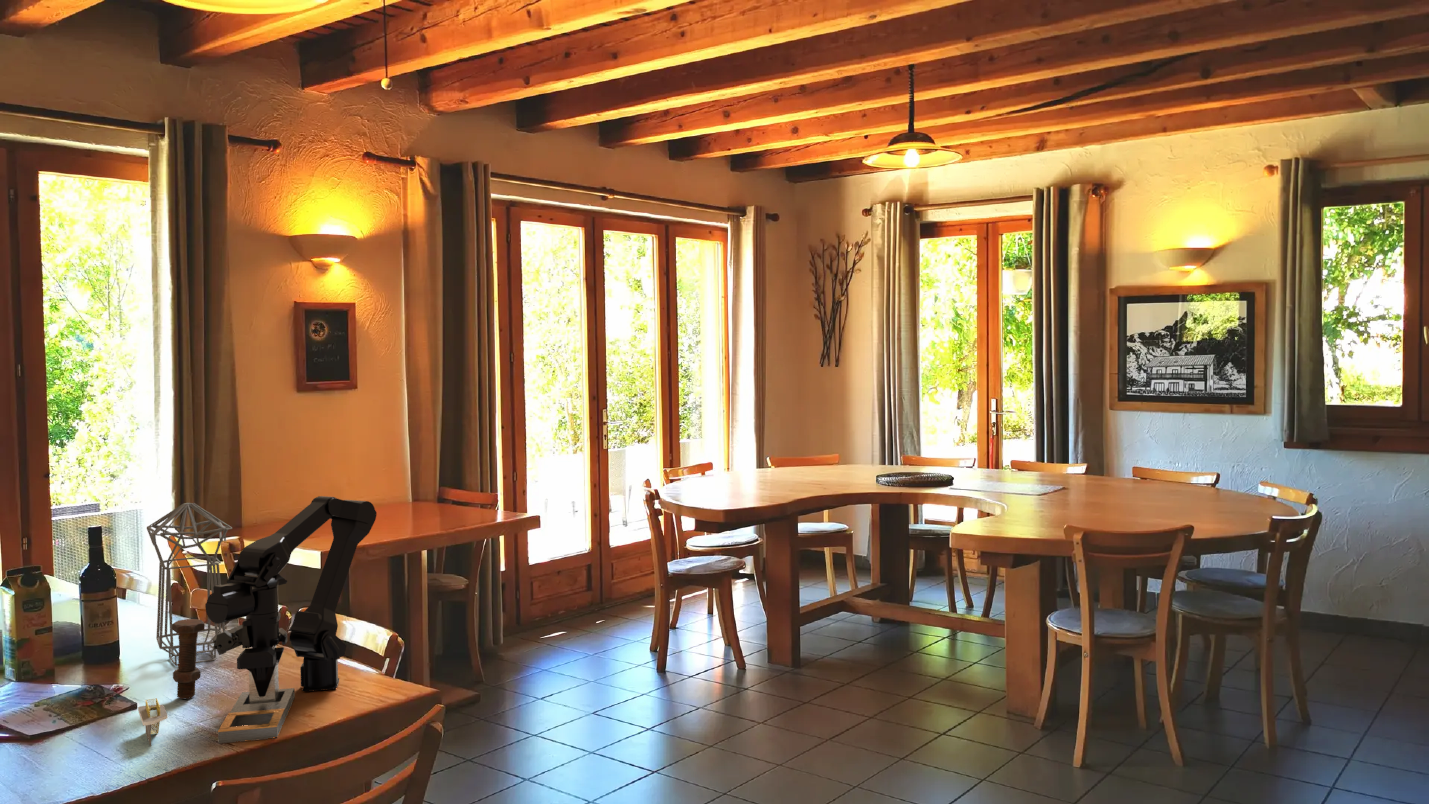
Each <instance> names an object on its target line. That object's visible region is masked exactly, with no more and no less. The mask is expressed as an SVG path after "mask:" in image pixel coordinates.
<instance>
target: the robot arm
mask: <svg viewBox="0 0 1429 804" xmlns="http://www.w3.org/2000/svg"><path fill="white" fill-rule="evenodd" d="M377 515H378V514H377V510H376V508H375V506H374V504H373V503H372V502H371V501H368V500H367V501H366V500H355V499H340V498H337V497H335V496H325V495H324V496H323V495H321V496H320V495H318V496H316V497H314V498H313V499H312V500H311V502H310V503H309V504H308V505H307V506H306V507H304V509H302V510H301V511H299V513H297V514H296V515H295V516H293V517H292V518H291V519H290V520H289V521H287V523H285V524H284V525H282V527H280V528H279V529H278V530H277V531H275V532H274V533H273V534H270V535H268V536H265V537H262V538H259V539H256V540H255V541H253V542H252V543H249V544H248V545H246V546H245V547H244V548H243V549H241V550H240V552H239V557H238V559H237V560H236V563H235V564H234V567H233V569H232V570H231V573H230V574H229V576H228V577H227V580H226V583H225V584H221V585H218V584H217V585H216V586H215V585H214V587H213V593H212V592H211V593H210V596H209V597H208V598H207V599H206V603H205V605H204V606H205V608H204V609H205V612H206V615H207V618H208V617H209V619H210V622H212V623H213V624H214V623H216V624H217V625H218V624H219V623H221V624H222V623H223V622H225V623H227V622H230V621H234V620H238V619H240V618H241V619H242V618H244V617H245V619H244V620H242V622H241V623H242V624H240V625H237V626H235V627H232V628H230V629H225V631H224V632H223V631H222V633H218V634H217V635H216V636H215V635H214V636H215V637H214V636H213V637H214V639H213V640H212V641H213V643H214V644H213V645H212V646H213V648H214V649H216V653H218V654H217V655H219V656H221V655H224V654H226V653H227V652H228V651H232V650H234V649H236V648H238V647H242V649H243V650H242V651H241V652H240V654H239V655H238V656H237V658H236V670H246V671H248V672H249V671H250V672H251V673H252V676H253V679H254V682H255V685H256V689H257V692H258V695H259V697H264V696H265V695H266V693H267V690H268V687H269V684H270V681H271V678H272V676H273V673H274V670H275V667H276V664H277V663H278V665H279V664H280V661H281V658H282V656H283V653H284V651H285V647H277V646H278V645H279V643H281V644H282V645H287V642H288V632H287V631H286V630H285V629H284V628H283V627H280V623H279V622H280V619H281V612H279V586H282V585H285V584H287V583H288V580H287V579H286V578H285V577H283V576H282V575H281V574H280V573H281V571H282V570H283V569H284V568H285V567H286V565H287V564H288V563H289V562H290V559H291V555H292V553H293V552H294V550H295V549H297V548H298V547H299V546H300V545H301V544H302V543H303V542H304V541H305V540H307V539H308V538H309V537H310V536H312V535H313V534H314V533H315V532H316V531H317V530H318V529H319V528H321V527H322V526H323V525H324V524H325V523H327V522H328V521H329V520H331V522H330V525H331V532H332V536H333V539H332V542H331V545H330V548H329V550H328V554H327V555H326V559H325V562H324V565H323V568H322V571H321V573H320V576H319V579H318V582H317V585H316V588H315V590H314V594H313V596H312V599H311V602H310V605H309V606H308V607H307V608H306V609H305V610H304V611H303V610H302V611H301V610H297V611H296V613H294V617H293V621H292V625H291V626H290V627H289V629H288V631H290V634H289V642H290V644H291V646H292V648H293V651H294V653H295V656H296V658H303V660H302V661H303V662H302V663H301V666H300V687H301V690H302V691H308V692H316V691H315V690H320V691H330V690H329V689H333V690H336V688H337V689H338V686H339V684H340V683H339V682H340V677H339V664H338V663H339V662H338V660H339V659H340V658H341V657H344V656H345V653H346V650H347V644H346V643H345V642H344V641H342V640H341V639H340V638H339V637H338V636H337V633H338V627H339V624H338V619H337V614H336V609H337V606H338V603H339V600H340V597H341V594H342V591H343V588H344V585H345V583H346V580H347V577H348V573H349V570H350V568H351V564H352V562H353V559H354V556H355V553H356V549H357V547H358V545H359V544H360V543H361V542H362V541H363V540H364V539H365V538H366V537H367V536H368V535H369V534H370V532H371V531H372V528H373V526H374V524H375V522H376V520H377ZM213 648H212V649H213ZM313 690H314V691H313Z"/></svg>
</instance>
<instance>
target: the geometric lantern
mask: <svg viewBox="0 0 1429 804" xmlns="http://www.w3.org/2000/svg"><path fill="white" fill-rule="evenodd" d="M192 510H194V511H195V512H196V513H198V514H199V515H201V516H202V517H204V518H205V519H206V520H205V521H200V522H196V520H195V517H194V514H193V511H192ZM187 513H188V515H189V520H190V522H191V525H190V526H185V524H186V519H187ZM181 514H182V516H181ZM180 516H181V519H180V520H181V521H180V523H179V525H173V523H174V522H176V520H177V519H178V518H179V517H180ZM169 523H170V524H169ZM167 524H169V525H167ZM205 524H206V525H205ZM212 524H214V525H215V526H216V527H218V528H215V529H210V530H206V529H207V528H208V527H209V526H210V525H212ZM223 524H224V525H223ZM201 525H204V526H203V527H202V528H201V529H200V530H198V531H197V528H198V526H201ZM168 529H180V531H179V532H171V531H168ZM189 529H191V530H192V529H193V530H192V531H184V530H189ZM232 529H233V527H232V526H230V525H229V524H227V523H226V522H224V521H223V520H221V519H219V518H218V517H216V516H215V515H213V514H212V513H211V512H209V511H207V510H205V509H204V508H202V506H199V505H198V504H197V503H195V502H193V503H192V502H186V503H182V504H181V505H179V506H177V507H176V508H174V509H173V510H171V511H170V512H168V513H166V514H165V515H163V516H161V517H160V518H159V519H157V520H155V521H154V522H152V523H151V524H150V525H148V526H146V530H147V533H148V536H149V538H150V541H151V543H152V545H153V547H154V549H155V552H156V555H157V558H158V560H159V568H158V569H159V571H158V589H157V590H158V593H157V595H158V596H157V597H158V598H157V614H156V615H157V616H156V617H157V618H156V619H157V620H156V622H157V623H156V642H157V644H158V645H157V646H158V648H159V649H160V650H163V651H165V652H166V653H167V654H168V658H169V660H170V661H171V662H172V664H173V665H174V666H176V667H178V664H179V663H178V658H177V657H179V656H178V654H179V651H178V650H177V649H179V644H177V645H174V636H175V637H176V636H179V633H176V632H174V631H173V630H172V624H173V606H172V604H173V603H172V576H171V570H175V569H186V568H196V567H197V568H198V567H206V585H207V586H206V589H207V592H206V593H207V599H208V597H209V596H210V594H212V593H213V587H214V586H216V585H222V583H221V572H220V564H221V562H222V561H220V560H219V558H218V553H219V550H220V547H221V546H222V542H223V541H224V542H226V540H227V533H228V531H229V530H232ZM211 533H212V534H211ZM206 534H210V535H209V536H207V537H206V538H204V539H202V540H200V539H199V536H201V535H206ZM184 535H193V536H184ZM216 535H218V539H219V541H218V542H217V545H216V546H217V547H216V550H215V551H214V554H213V555H211V556H210V555H208V553H207V551H205V549H204V547H203V546H202V544H203V543H205V542H207V541H208V540H210V539H212V538H213V537H215V536H216ZM157 536H160V537H162V539H163V538H164V539H165V540H167V541H168V542H170V543H172V544H173V545H174V547H173V548H172V550H171V553H170V554H169V557H168V559H166V560H165V559H163V557H162V554H161V551H160V549H159V546H158V544H157V539H156V538H157ZM168 536H172V537H174V538H177V541H176V540H173V539H172V538H171V537H168ZM195 539H196V540H195ZM185 540H192V541H193V542H194V544H188V545H186V542H185ZM199 540H200V541H199ZM180 541H181V542H182V544H180ZM177 547H179V549H178V550H177V552H176V553H175V551H176V549H177ZM193 547H198V549H199V550H200V552H202V553H203V556H193V557H185V558H176V557H177V556H178V555H179V553H180V552H181V550H182V549H190V548H193ZM174 553H175V554H174ZM173 555H174V556H173ZM172 557H173V558H172ZM195 559H206V564H193V565H183V566H182V565H181V566H173V567H172V566H171V567H170V565H171V564H172V563H173V562H175V561H187V560H195ZM165 563H166V564H165ZM165 576H166V577H165ZM164 601H165V602H164ZM164 603H165V605H164ZM164 607H165V608H164ZM164 609H165V610H164ZM164 612H165V613H164ZM168 616H169V617H168ZM168 618H169V619H168ZM168 620H169V625H168ZM225 623H226V622H223V623H219V624H216V623H214V622H213V624H214V628H213V627H211V620H210V619H209V617H208V616H207V628H205V629H204V630H202V631H198V633H202V632H203V633H204V632H207V633H206V636H205V639H204V642H203V641H202V642H197V646H202V650H197V651H196V652H197V653H196V655H198V654H206V653H209V654H210V655H211V659H204V660H196V664H201V663H206V662H207V663H208V662H215V660H217V649H214V648H213V646H214V643H213V639H214V637H215V636H216V635H217V634H218V633H222V632H224V631H225V630H226V624H225ZM163 624H164V625H163ZM163 626H164V627H163ZM168 626H169V633H168ZM163 628H164V634H163ZM212 631H213V632H214V636H213V637H212V638H211V639H210V640H209V641H208V639H209V636H210V635H209V634H210V632H212ZM164 638H165V640H167V643H168V644H166V643H165V641H163V639H164ZM169 638H170V640H169ZM205 645H207V650H205V649H206V648H205ZM210 648H211V649H210ZM173 658H174V659H173Z"/></svg>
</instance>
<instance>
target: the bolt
mask: <svg viewBox="0 0 1429 804" xmlns="http://www.w3.org/2000/svg"><path fill="white" fill-rule="evenodd" d="M205 626H206V624H205V622H204V621H203V620H202V619H199V618H198V619H196V618H188V619H179V620H176V621H174V622H172V630H173V632H174V633H179V635H178V637H177V638H178V645H179V648H178V653H179V654H178V656H179V657H178V658H177V664H178V666H177V669H175V670H174V671H172V679H173V681H174V682H176V683H177V689H176V691H177V692H176V693H177V694H176V697H177V698H178V699H182V700H188V699H192V698H194V696H195V695H196V681H198V680H199V679H200V678H201V673H202V672H201V670H200V668H198V667H197V663H196V662H197V654H196V653H197V652H196V651H198V650H197V648H198V647H197V646H198V645H197V643H198V637H199V636H198V635H199V634H198V633H199V632H198V631H202V630H204V629H206V628H205Z"/></svg>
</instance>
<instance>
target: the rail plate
mask: <svg viewBox="0 0 1429 804" xmlns="http://www.w3.org/2000/svg"><path fill="white" fill-rule="evenodd" d="M295 697H296V695H295V687H291V688H290V687H289V688H281V689H280V688H279V702H269V703H257V704H250V700H249V691H242V692H241V693H240V695H239V696H238V699H237V700H236V701H235V703H234V705H233V707H232V709H230V712H228V713H227V715H226V717H225V718H224V720H223V722H222V723H221V725H220V727H219V728H218V730H217V743H218V744H226V743H237V742H238V741H240V742H246V741H245V740H251V741H259V740H269V739H268V738H272V739H274V738H273V737H277V736H278V737H279V735H280V733H279V732H281V730H282V728H283V726H284V723H285V722H286V721H285V720H286V719H285V718H287V717H286V716H288V714H289V712H290V710H289V709H291V708H290V707H292V705H293V703H294V701H295ZM293 700H294V701H293ZM292 702H293V703H292ZM288 711H289V712H288ZM242 725H243V726H242ZM244 725H248V726H244ZM282 725H283V726H282ZM236 726H237V727H236ZM278 734H279V735H278ZM278 737H277V738H278ZM236 741H237V742H236Z"/></svg>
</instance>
